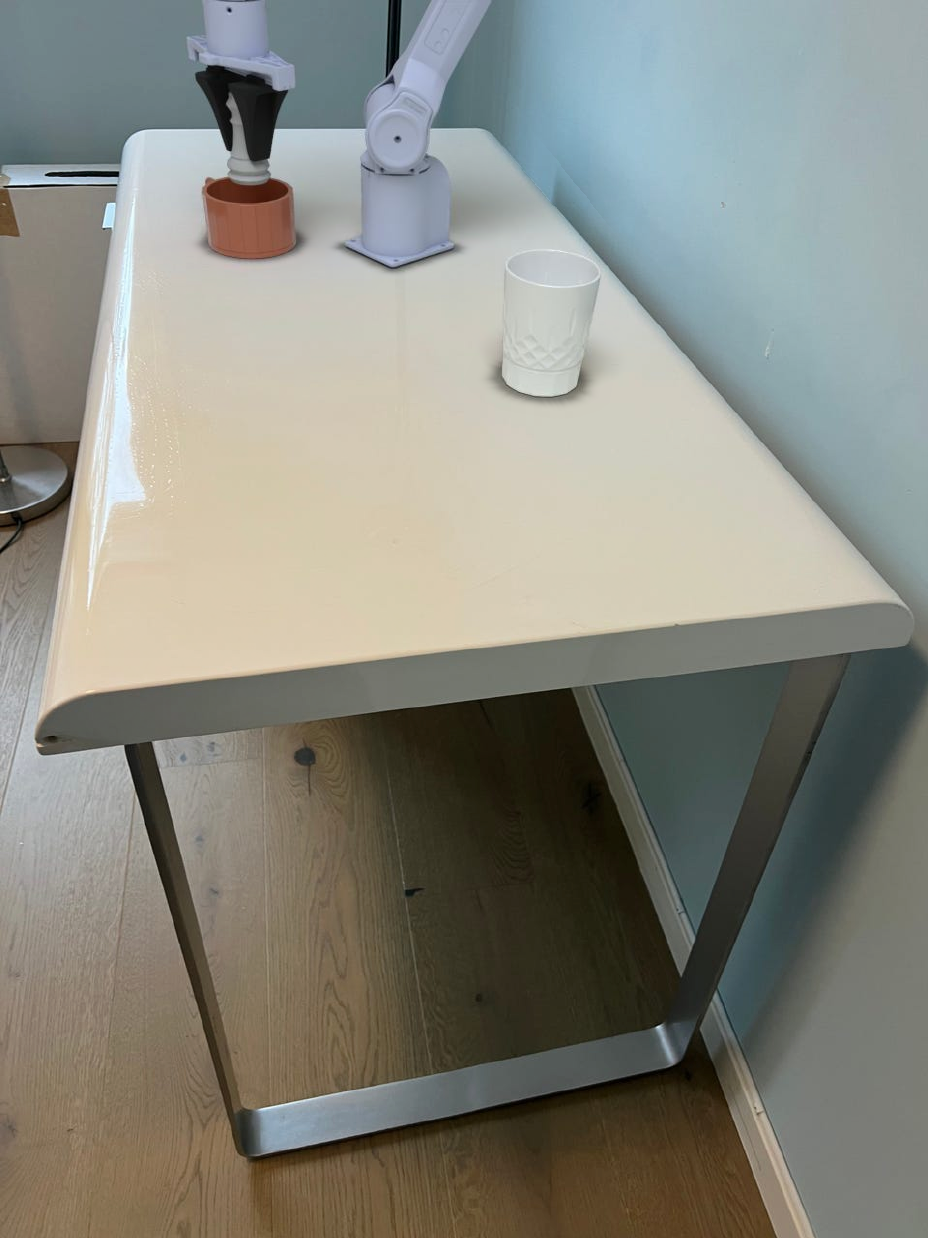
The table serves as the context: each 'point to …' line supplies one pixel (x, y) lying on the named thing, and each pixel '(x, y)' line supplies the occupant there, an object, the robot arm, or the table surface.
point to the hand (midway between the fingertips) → (247, 154)
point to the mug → (249, 218)
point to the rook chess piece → (243, 155)
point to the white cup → (547, 319)
